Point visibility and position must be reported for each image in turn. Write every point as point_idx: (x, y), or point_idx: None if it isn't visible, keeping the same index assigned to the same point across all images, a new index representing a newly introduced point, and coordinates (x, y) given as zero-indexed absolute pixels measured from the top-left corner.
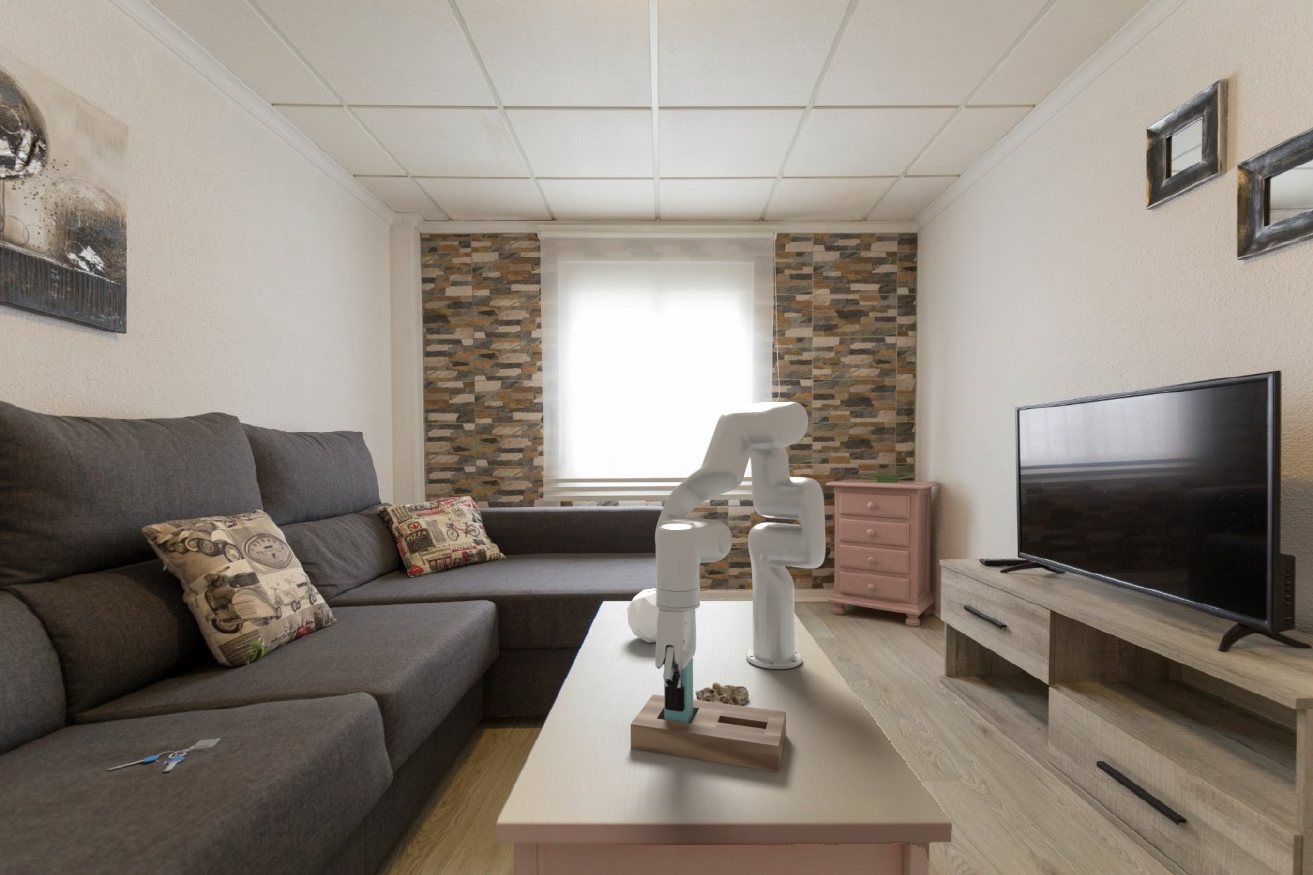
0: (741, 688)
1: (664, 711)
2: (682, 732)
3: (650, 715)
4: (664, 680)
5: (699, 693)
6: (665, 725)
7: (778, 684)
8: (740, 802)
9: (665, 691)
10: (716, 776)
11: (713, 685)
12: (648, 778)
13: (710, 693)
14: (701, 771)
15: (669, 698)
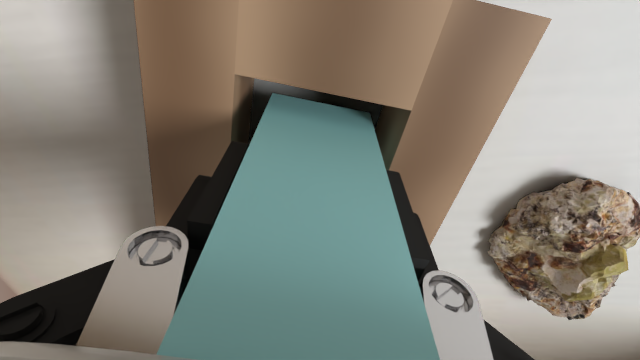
0: (577, 310)
1: (259, 122)
2: (152, 188)
3: (264, 36)
4: (212, 234)
5: (587, 204)
6: (178, 123)
7: (616, 351)
8: (50, 262)
9: (201, 196)
10: (125, 224)
11: (611, 258)
12: (13, 45)
13: (564, 240)
14: (132, 194)
15: (186, 200)
